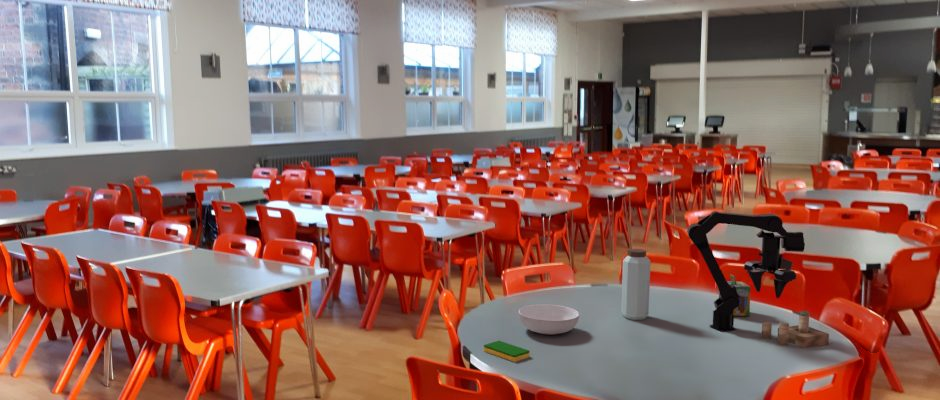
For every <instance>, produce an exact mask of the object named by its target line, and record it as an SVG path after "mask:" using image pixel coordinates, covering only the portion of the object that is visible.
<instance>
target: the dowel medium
mask: <svg viewBox="0 0 940 400" xmlns="http://www.w3.org/2000/svg"><path fill="white" fill-rule="evenodd" d="M789 326H790V323H789V322H785V321H780V322H779V324H778V328H779V336H778V335H777V340H778V341H777V343H778V345H780V346H788V344H789V342H788V335H789Z"/></svg>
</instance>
